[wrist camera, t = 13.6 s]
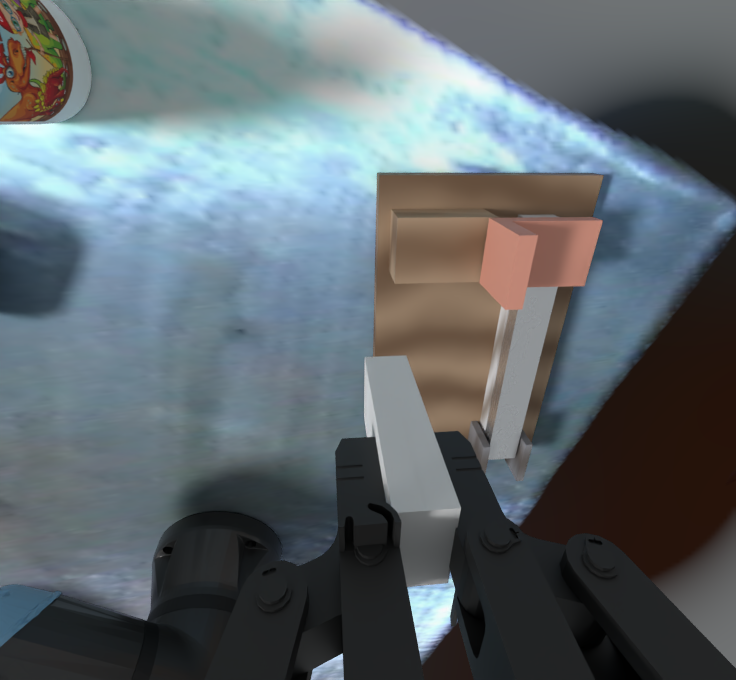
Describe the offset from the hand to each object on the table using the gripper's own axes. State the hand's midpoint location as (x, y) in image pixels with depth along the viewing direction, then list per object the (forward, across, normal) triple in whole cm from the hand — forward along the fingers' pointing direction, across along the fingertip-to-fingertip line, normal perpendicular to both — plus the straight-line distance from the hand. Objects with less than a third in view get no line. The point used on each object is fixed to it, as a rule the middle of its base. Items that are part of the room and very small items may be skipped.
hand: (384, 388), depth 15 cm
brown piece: (+22, -11, +10) cm, 26 cm away
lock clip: (+17, -14, 0) cm, 22 cm away
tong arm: (+19, -15, +10) cm, 26 cm away
